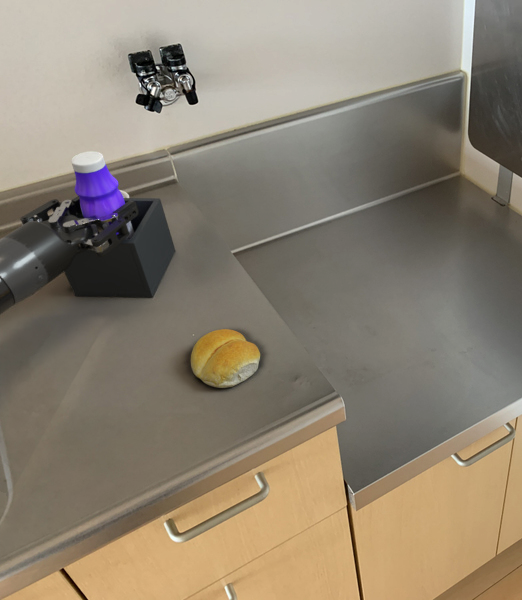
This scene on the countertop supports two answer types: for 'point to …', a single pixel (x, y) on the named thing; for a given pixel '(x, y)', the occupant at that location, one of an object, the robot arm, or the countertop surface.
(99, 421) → the countertop surface
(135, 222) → the trash bin
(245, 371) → the bread roll
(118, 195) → the bottle
